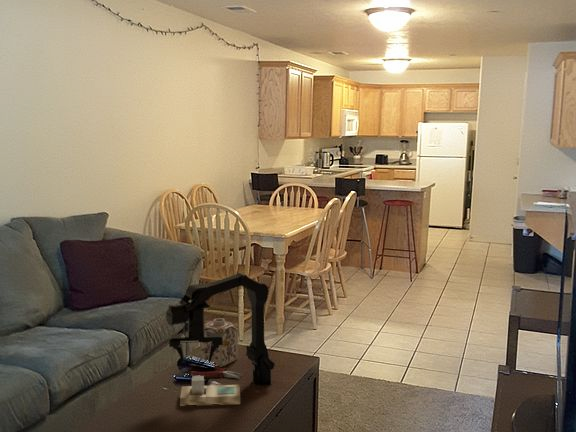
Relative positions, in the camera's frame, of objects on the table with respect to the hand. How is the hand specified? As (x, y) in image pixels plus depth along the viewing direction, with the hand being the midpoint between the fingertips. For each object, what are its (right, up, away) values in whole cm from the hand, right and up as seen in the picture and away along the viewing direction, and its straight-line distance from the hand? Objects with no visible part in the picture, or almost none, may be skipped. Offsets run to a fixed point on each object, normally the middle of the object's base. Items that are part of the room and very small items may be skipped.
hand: (196, 362), depth 221 cm
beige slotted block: (+6, -13, +1) cm, 14 cm away
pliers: (+4, -11, +23) cm, 25 cm away
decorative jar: (+4, -9, +39) cm, 40 cm away
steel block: (+1, -13, 0) cm, 13 cm away
